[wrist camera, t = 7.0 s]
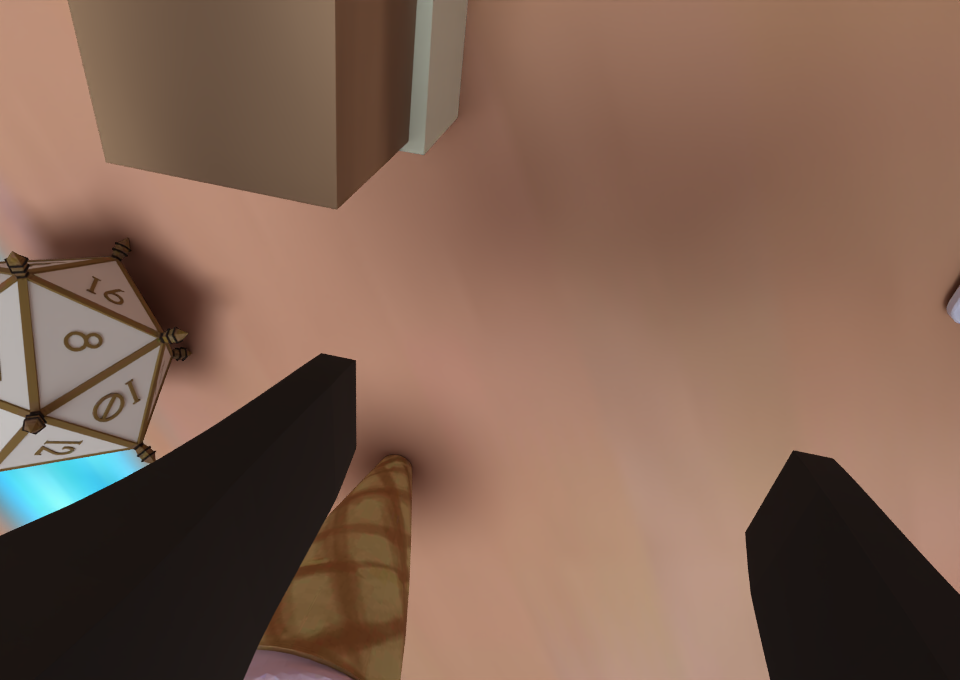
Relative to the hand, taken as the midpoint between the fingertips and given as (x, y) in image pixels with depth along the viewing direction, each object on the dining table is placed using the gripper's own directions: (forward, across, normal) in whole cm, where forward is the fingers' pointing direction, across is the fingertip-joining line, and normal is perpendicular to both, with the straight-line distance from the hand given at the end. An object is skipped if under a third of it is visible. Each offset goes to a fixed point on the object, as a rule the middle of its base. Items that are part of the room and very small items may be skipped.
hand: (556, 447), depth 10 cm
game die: (+11, +17, +7) cm, 21 cm away
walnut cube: (+7, +7, -5) cm, 11 cm away
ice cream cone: (+11, +6, +13) cm, 18 cm away
